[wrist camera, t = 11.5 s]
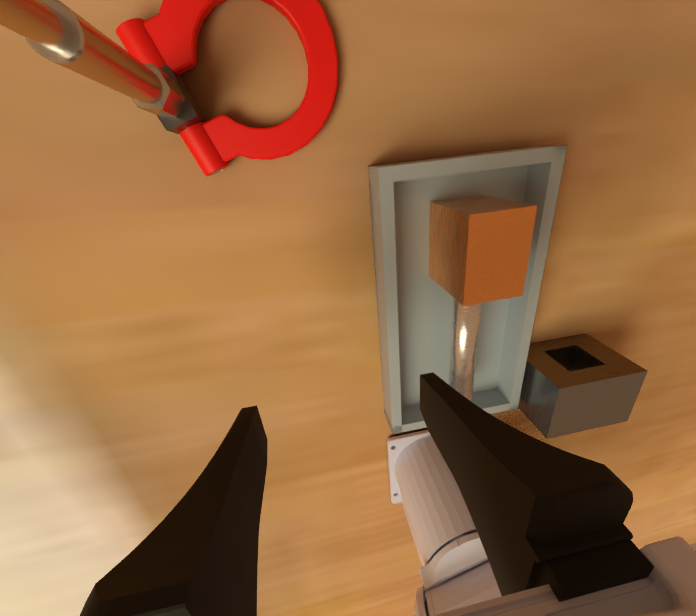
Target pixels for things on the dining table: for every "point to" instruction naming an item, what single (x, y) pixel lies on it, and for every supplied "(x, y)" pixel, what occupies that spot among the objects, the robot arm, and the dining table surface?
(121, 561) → the robot arm
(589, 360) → the block
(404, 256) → the tray
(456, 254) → the hitch pin
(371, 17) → the dining table surface
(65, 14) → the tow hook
